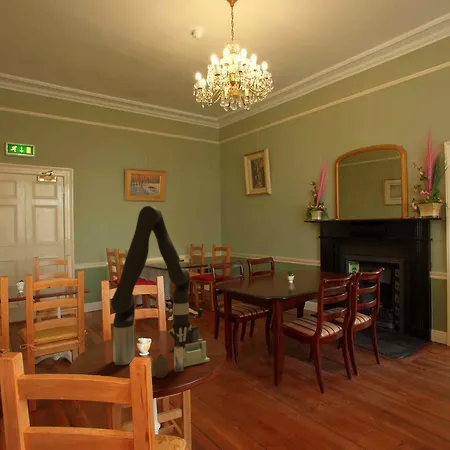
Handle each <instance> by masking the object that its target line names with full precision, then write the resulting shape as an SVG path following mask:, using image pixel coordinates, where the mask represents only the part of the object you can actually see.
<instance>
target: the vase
mask: <svg viewBox="0 0 450 450" xmlns="http://www.w3.org/2000/svg"><path fill="white" fill-rule="evenodd" d="M169 368H170V367H169V362H168V360H167V359H166V358H165V356H164V355H163V354H158V355H157V356H156V359H155V360H154V361H153V363H152V368H151V370H152V375H153V376H155V378H157V379H164V378H165V377H166V376H167V375H168V373H169Z"/></svg>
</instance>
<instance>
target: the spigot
mask: <svg viewBox="0 0 450 450" xmlns="http://www.w3.org/2000/svg"><path fill="white" fill-rule="evenodd" d="M173 361H174V363H173V365H174V366H173V367H174V368H173V369H174V372H176V373H180V372H183V371H184V367H183V347H182V346H176V347H173Z"/></svg>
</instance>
